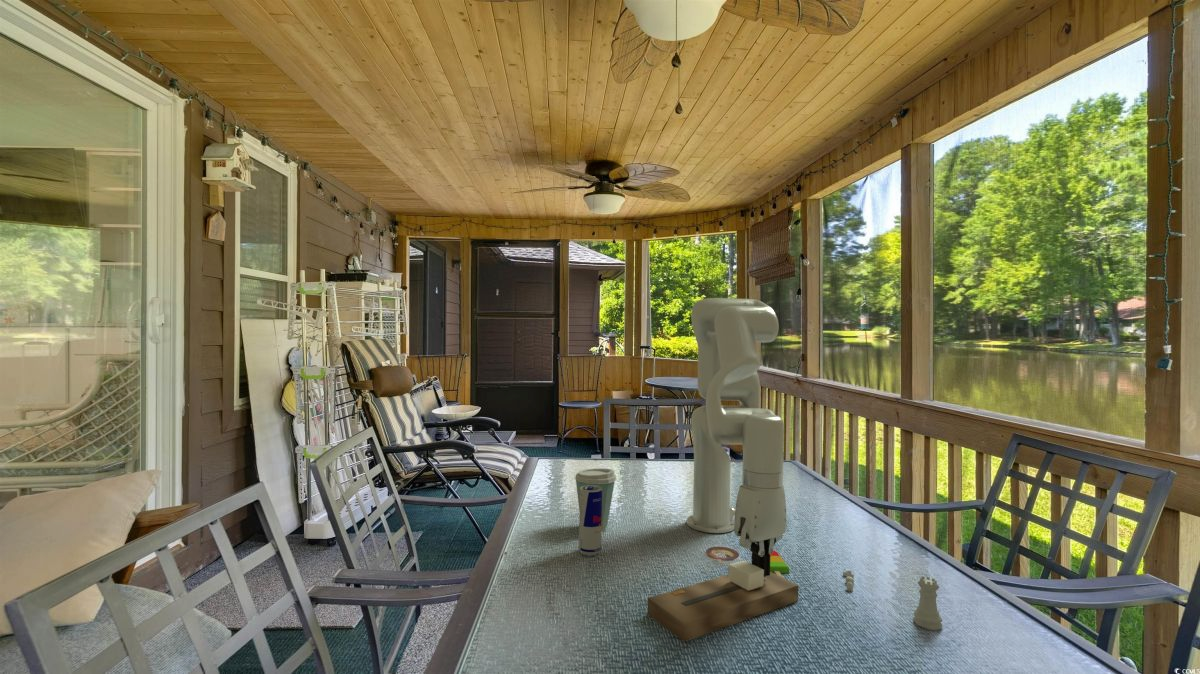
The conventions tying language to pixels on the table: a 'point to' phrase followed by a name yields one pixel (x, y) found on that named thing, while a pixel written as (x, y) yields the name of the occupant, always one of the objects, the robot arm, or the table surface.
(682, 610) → the console
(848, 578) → the game pieces
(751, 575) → the fader knob
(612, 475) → the disposable coffee cup
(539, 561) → the table surface
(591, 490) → the beverage can
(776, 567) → the popsicle
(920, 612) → the rook chess piece
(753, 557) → the robot arm
